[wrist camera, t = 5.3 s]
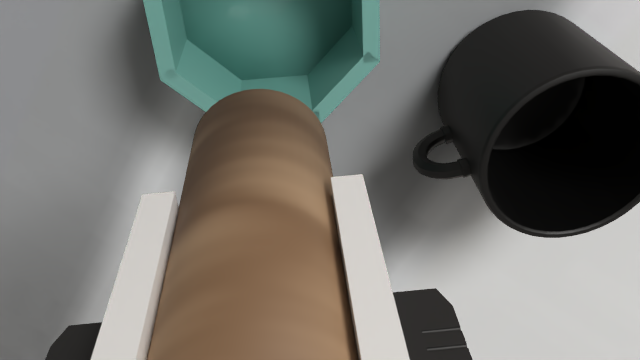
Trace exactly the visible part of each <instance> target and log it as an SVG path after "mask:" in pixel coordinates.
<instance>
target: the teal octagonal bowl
mask: <svg viewBox="0 0 640 360" xmlns="http://www.w3.org/2000/svg"><path fill="white" fill-rule="evenodd" d="M143 2H144V7H145V12H146V16H147V21H148V26H149V30H150V35H151V40H152V44H153V49H154V53H155V58H156V63H157V67H158V72H159V77H160V80H161V81H162V82H164V83H165V84H166V85H168V86H169V87H171V88H172V89H174V90H175V91H176V92H178V93H179V94H181V95H182V96H184V97H185V98H186V99H188V100H189V101H191V102H192V103H193V104H195V105H196V106H198V107H199V108H201V109H202V110H203V111H205V112H207V111H208V110H209V109H210V107H211V106H213V105H214V104H215V103H216V102H218V101H219V100H221V99H223V98H224V97H226V96H228V95H231V94H233V93H236V92H240V91H243V90H250V89H270V90H275V91H280V92H283V93H286V94H288V95H291V96H293V97H295V98H297V99H298V100H300V101H301V102H303V103H304V104H305V105H306V106H308V107H309V108H310V109H311V110H312V111H313V113H314V114H315V115H316V116H317V118H318V119H319V121H320V122H321V123H322V122H323V121H324V120H325V119H326V117H327V116H328V115H329V114H330V113H331V112H332V111H333V110H334V109H335V108H336V107H337V106H338V105H339V104H340V103H341V102H342V101H343V100H344V99H345V98H346V97H347V95H348V94H349V93H350V92H351V91H352V90H353V89H354V88H355V87H356V86H357V85H358V84H359V83H360V82H361V81H362V80H363V79H364V78H365V77H366V76H367V75H368V74H369V72H370V71H371V70H372V69H373V68H374V67H375V66H376V65H377V64H378V63H379V62H380V17H379V0H143Z"/></svg>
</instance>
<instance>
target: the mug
mask: <svg viewBox="0 0 640 360" xmlns="http://www.w3.org/2000/svg"><path fill="white" fill-rule="evenodd" d="M438 107H439V113H440V116H441V119H442V122H443V124H444V126H443V127H441V128H440V130H438V131H436V132H433V133H431V134H429V135H428V136H426V137H425V138H424V139H422V140H421V141H420V142H419V143H418V144H417V145H416V147H415V149H414V151H413V164H414V167H415V168H416V170H417V171H418V172H419V173H421V174H423V175H425V176H428V177H431V178H436V179H452V178H457V177H462V176H463V177H467V176H470V175H471V176H472V178H473V180H474V182H475V184H476V186H477V188H478V189H479V191H480V193H481V195H482V197H483V199H484V201H485V202H486V204H487V206H488V207H489V209H490V211H491V212H492V213H493V214H494V215H495V216H496V217H497V218H498V219H499V220H500V221H502V222H503V223H505V224H506V225H507V226H509V227H511V228H513V229H515V230H517V231H519V232H522V233H525V234H528V235H532V236H538V237H547V238H559V237H567V236H574V235H578V234H582V233H586V232H589V231H592V230H594V229H597V228H600V227H602V226H604V225H606V224H608V223H610V222H612V221H614V220H616V219H617V218H619V217H620V216H622V215H623V214H625V213H626V212H628V211H629V210H630V209H632V208H633V207H634V206H635V205H637V204H638V203H639V202H640V72H639V71H637V70H636V69H635V68H633V67H632V66H630V65H629V64H628V63H626V62H625V61H624V60H622V59H621V58H620V57H618V56H617V55H616V54H614V53H613V52H612V51H610V50H609V49H608V48H606V47H605V46H603V45H602V44H601V43H599V42H598V41H597V40H595V39H594V38H593V37H591V36H590V35H589V34H587V33H586V32H585V31H583V30H582V29H581V28H579V27H578V26H576V25H575V24H574V23H572V22H571V21H569V20H568V19H566V18H564V17H562V16H560V15H557V14H555V13H551V12H546V11H540V10H525V11H517V12H512V13H509V14H505V15H502V16H499V17H497V18H495V19H492V20H490V21H488V22H486V23H485V24H483V25H481V26H480V27H478V28H477V29H475V30H474V31H473V32H472V33H471V34H469V35H468V36H467V37H466V38H465V39H464V40H463V41H462V42H461V43H460V44H459V45H458V47H457V48H456V49H455V51H454V52H453V54H452V55H451V57H450V58H449V60H448V62H447V64H446V66H445V68H444V70H443V73H442V76H441V79H440V84H439V90H438ZM445 142H446V144H448V143H451V142H453V143H454V145H455V147H456V148H457V150H458V152H459V154H460V156H461V158H462V159H459V160H457V162H452V163H435V162H432V161H430V160H429V159H428V158H427V155H428V154H429V152H430V151H431V150H433V149H434V148H435V147H437V146H439V145H441V144H443V143H445Z"/></svg>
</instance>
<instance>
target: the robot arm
mask: <svg viewBox="0 0 640 360" xmlns="http://www.w3.org/2000/svg"><path fill="white" fill-rule="evenodd" d="M331 190H332V200H333V206H334V212H335V218H336V224H337V230H338V237H339V243H340V249H341V255H342V261H343V267H344V273H345V279H346V285H347V291H348V298H349V304H350V310H351V316H352V322H353V328H354V334H355V340H356V346H357V353H358V359H359V360H472V357H471V355H470V352H469V349H468V348H467V345H466V341H465V338H464V336H463V333H462V331H461V330H460V325H459V322H458V319H457V316H456V314H455V311H454V308H453V306H452V305H451V304H450V303H449V302H448V301H447V299H446V298H445V297H444V296H443V295H442V294H441V293H440V292H439V291H438V290H437V289H436V288H435V289H425V290H415V291H404V292H394V293H393V292H392V288H391V284H390V280H389V276H388V272H387V268H386V264H385V260H384V256H383V253H382V249H381V245H380V241H379V237H378V233H377V229H376V225H375V221H374V217H373V213H372V209H371V205H370V201H369V198H368V194H367V190H366V186H365V182H364V178H363V174H360V175H349V176H338V177H331ZM178 211H179V208H178V204H177V199H176V195H175V191H174V192H163V193H152V194H142V197H141V200H140V203H139V206H138V210H137V213H136V216H135V219H134V222H133V226H132V229H131V232H130V235H129V238H128V242H127V245H126V248H125V251H124V254H123V258H122V261H121V264H120V267H119V270H118V274H117V277H116V280H115V283H114V286H113V290H112V293H111V296H110V299H109V302H108V306H107V309H106V312H105V315H104V318H103V322H102V323H91V324H81V325H71V326H68V327H67V328H66V330H65V331H64V332H63V333H62V334H61V335H60V336H59V338H58V339H57V340H56V341H55V342H54V343H53V344H52V346H51V347H50V349H49V352H48V354H47V357H46V359H45V360H147V357H148V352H149V348H150V343H151V338H152V334H153V329H154V324H155V319H156V315H157V310H158V305H159V301H160V296H161V291H162V286H163V282H164V277H165V272H166V268H167V263H168V258H169V254H170V249H171V244H172V239H173V235H174V230H175V225H176V221H177V216H178Z"/></svg>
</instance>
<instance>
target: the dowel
mask: <svg viewBox="0 0 640 360" xmlns="http://www.w3.org/2000/svg"><path fill="white" fill-rule="evenodd" d="M331 177H333V174H332V168H331V163H330V157H329V151H328V146H327V140H326V135H325V132H324V129H323V127H322V125H321V122H320V121H319V119H318V118H317V116H316V115H315V114H314V113H313V111H312V110H311V109H310V108H309V107H308V106H306V105H305V104H304V103H303V102H301V101H300V100H298V99H297V98H295V97H293V96H291V95H288V94H286V93H283V92H280V91H275V90H270V89H250V90H243V91H240V92H236V93H233V94H231V95H228V96H226V97H224V98H223V99H221V100H219V101H218V102H216V103H215V104H214V105H213V106H211V107H210V109H209V110H208V111H207V112H206V113H205V114H204V115H203V117H202V118H201V120H200V122H199V124H198V126H197V128H196V131H195V134H194V139H193V144H192V148H191V153H190V158H189V162H188V167H187V172H186V177H185V181H184V186H183V191H182V195H181V200H180V205H179V211H178V216H177V221H176V225H175V230H174V235H173V239H172V244H171V249H170V254H169V258H168V263H167V268H166V272H165V277H164V282H163V286H162V291H161V296H160V301H159V305H158V310H157V315H156V319H155V324H154V329H153V334H152V338H151V343H150V348H149V352H148V357H147V360H359V359H358V353H357V346H356V340H355V334H354V328H353V322H352V316H351V310H350V304H349V298H348V291H347V285H346V279H345V273H344V267H343V261H342V255H341V249H340V243H339V237H338V230H337V224H336V218H335V212H334V206H333V200H332V190H331Z"/></svg>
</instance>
